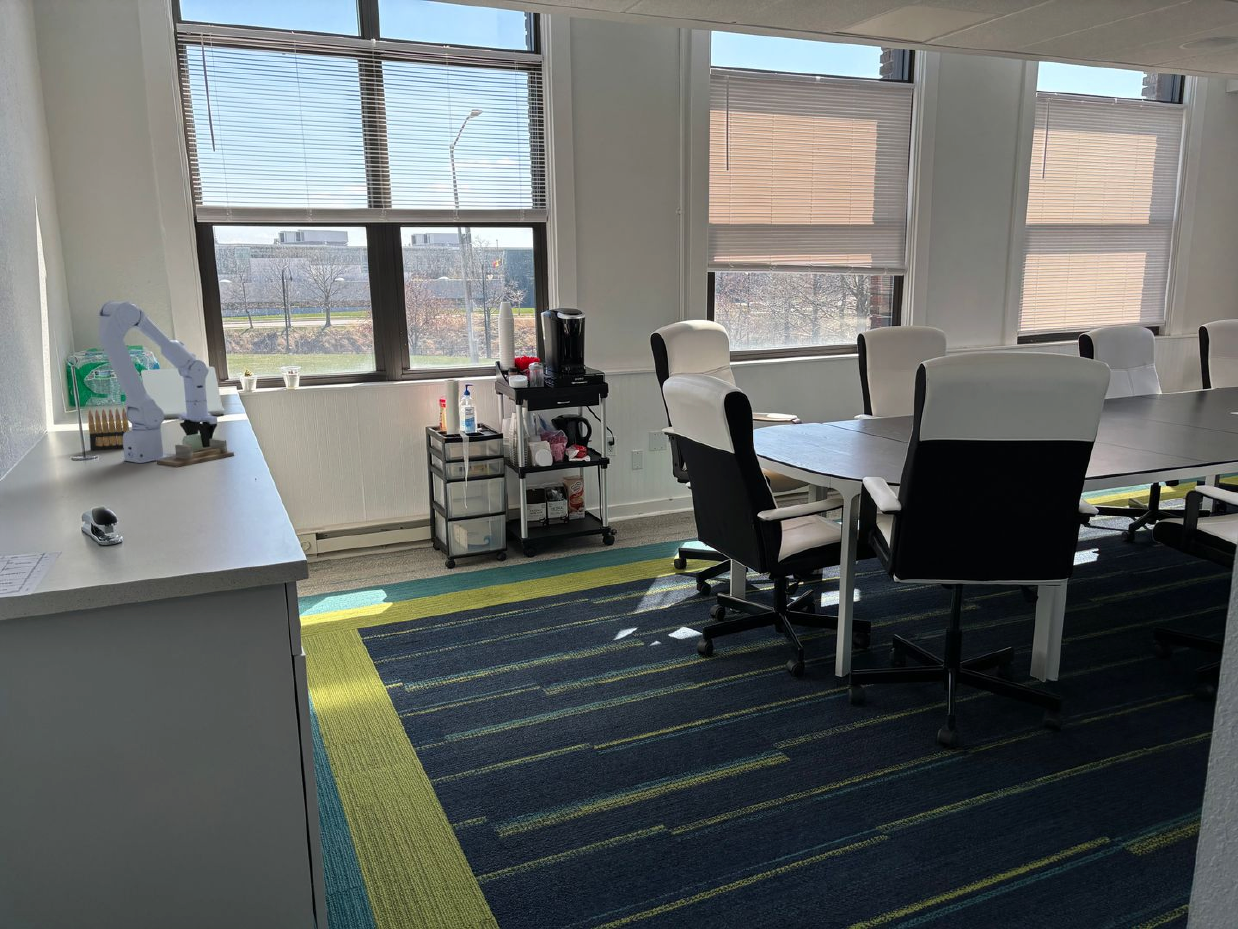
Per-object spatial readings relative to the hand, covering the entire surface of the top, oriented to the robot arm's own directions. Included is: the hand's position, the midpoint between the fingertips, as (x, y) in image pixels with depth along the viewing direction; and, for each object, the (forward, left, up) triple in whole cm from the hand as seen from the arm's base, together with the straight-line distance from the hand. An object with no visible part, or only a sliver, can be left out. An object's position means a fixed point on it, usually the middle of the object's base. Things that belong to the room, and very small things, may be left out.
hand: (200, 446), depth 270 cm
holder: (-9, -10, -1) cm, 14 cm away
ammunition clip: (-11, +26, -2) cm, 28 cm away
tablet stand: (+43, +66, -2) cm, 79 cm away
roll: (0, 0, -1) cm, 1 cm away
